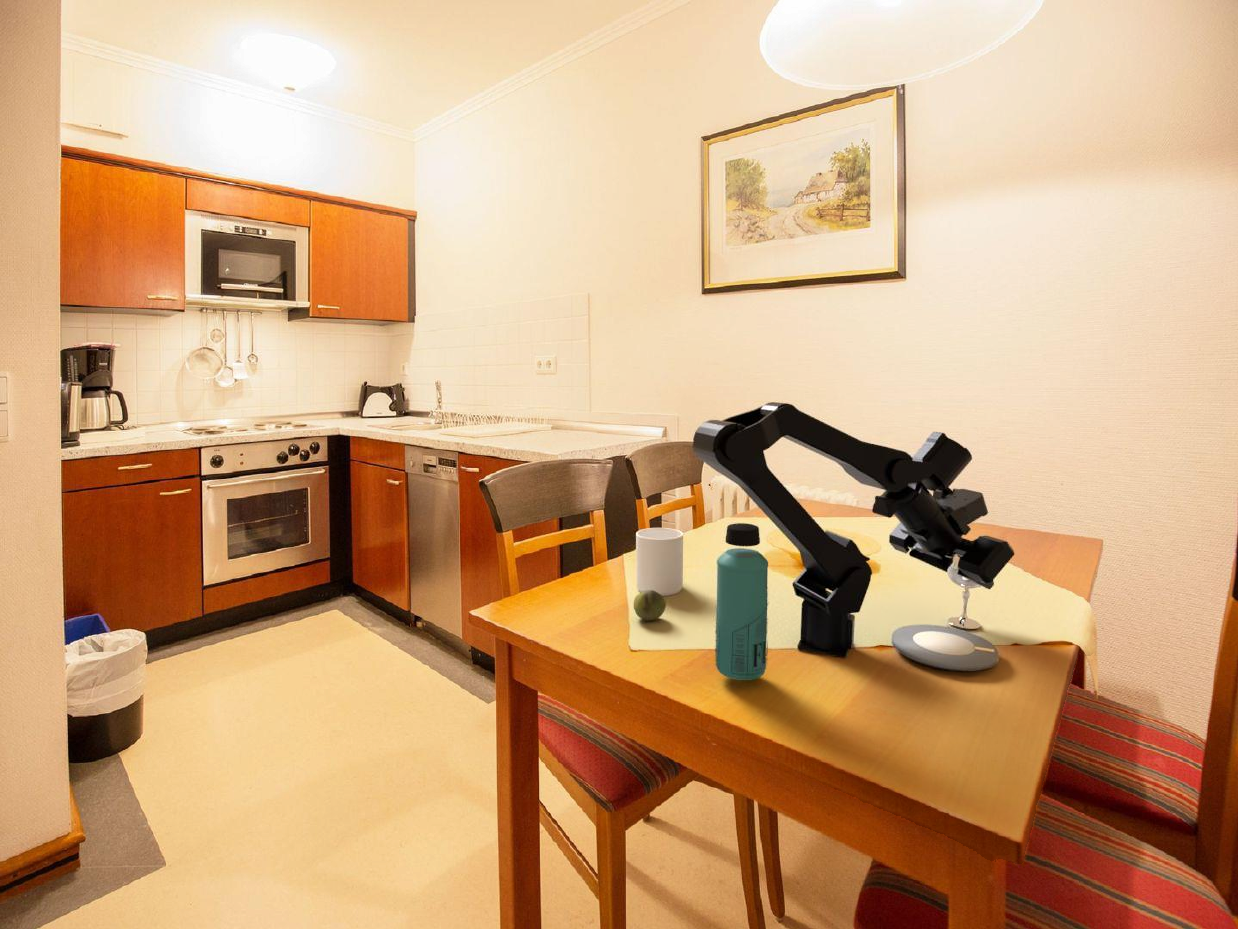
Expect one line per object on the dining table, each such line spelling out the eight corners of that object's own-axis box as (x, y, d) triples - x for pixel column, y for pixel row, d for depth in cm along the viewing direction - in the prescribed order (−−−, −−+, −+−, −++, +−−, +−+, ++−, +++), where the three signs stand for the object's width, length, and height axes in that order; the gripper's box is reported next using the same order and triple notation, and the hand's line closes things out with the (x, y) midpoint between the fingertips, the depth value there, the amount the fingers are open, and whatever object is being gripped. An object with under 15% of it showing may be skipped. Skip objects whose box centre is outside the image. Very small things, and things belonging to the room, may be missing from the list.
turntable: (888, 658, 86) (888, 652, 86) (894, 624, 97) (895, 618, 97) (1002, 678, 80) (1002, 672, 80) (994, 639, 92) (994, 633, 92)
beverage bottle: (756, 697, 78) (760, 534, 75) (705, 683, 81) (707, 527, 78) (774, 675, 83) (778, 523, 80) (725, 663, 86) (728, 516, 84)
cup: (634, 596, 112) (634, 539, 111) (639, 574, 124) (639, 522, 123) (682, 597, 111) (683, 540, 110) (682, 575, 123) (683, 523, 122)
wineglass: (991, 632, 96) (998, 553, 94) (948, 628, 97) (955, 550, 95) (977, 617, 101) (984, 542, 99) (938, 614, 102) (943, 540, 101)
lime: (629, 618, 102) (629, 588, 101) (655, 613, 104) (655, 583, 104) (644, 628, 98) (644, 596, 98) (670, 622, 101) (671, 591, 100)
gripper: (1010, 483, 86) (1065, 558, 90) (909, 463, 103) (959, 527, 108) (957, 546, 84) (1015, 618, 89) (864, 515, 102) (917, 576, 107)
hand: (974, 580), depth 98 cm, fingers closed on wineglass, 6 cm apart
